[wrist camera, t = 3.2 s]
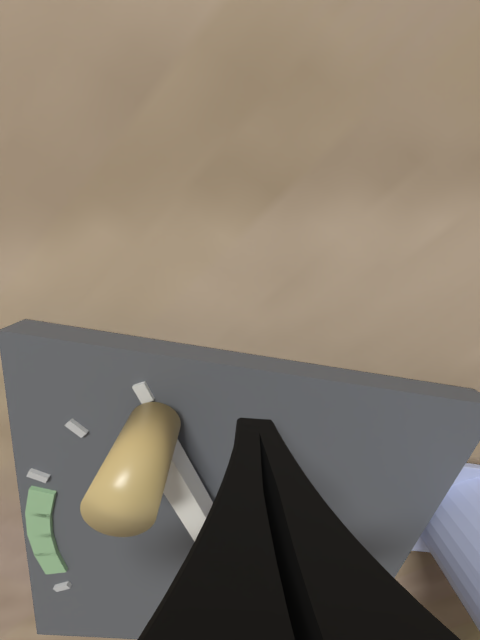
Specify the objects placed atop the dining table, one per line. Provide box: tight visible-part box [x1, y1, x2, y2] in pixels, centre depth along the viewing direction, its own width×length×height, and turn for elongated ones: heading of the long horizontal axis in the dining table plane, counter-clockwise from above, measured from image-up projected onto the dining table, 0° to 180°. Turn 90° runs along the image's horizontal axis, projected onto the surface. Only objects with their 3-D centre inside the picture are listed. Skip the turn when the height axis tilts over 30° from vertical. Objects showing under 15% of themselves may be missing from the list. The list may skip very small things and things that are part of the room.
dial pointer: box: [80, 402, 213, 542], centre depth 12 cm, size 13×4×4 cm, turn 19°
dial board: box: [0, 319, 480, 639], centre depth 16 cm, size 24×24×2 cm
